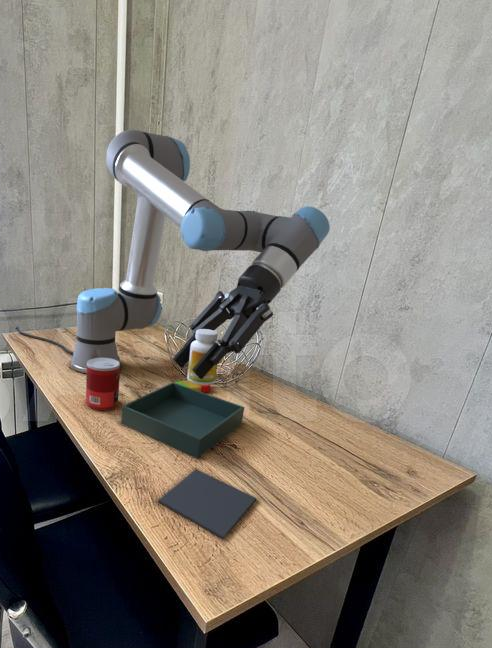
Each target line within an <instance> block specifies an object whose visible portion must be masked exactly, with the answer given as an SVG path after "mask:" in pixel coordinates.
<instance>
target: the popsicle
mask: <svg viewBox="0 0 492 648" xmlns="http://www.w3.org/2000/svg"><path fill="white" fill-rule="evenodd" d="M174 383H177V384H179V385H182V386H185V387H188V388H191V389H194V390H197V391H199V392H202V393H209V392H210V391H211V388H212V387H211V385H198V384H194V383H192V382H190V381H189V380H182V381H174Z"/></svg>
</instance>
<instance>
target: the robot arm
mask: <svg viewBox="0 0 492 648" xmlns="http://www.w3.org/2000/svg"><path fill="white" fill-rule="evenodd" d="M105 156H106V157H105V158H106V159H105V161H106V166H107V168H108V169H107V170H108V171H109V173H110V174H111V175H112V177H113V179H115V180H116V181H117V182H119V184H121V185H122V186H124V187H126V188H132V189H133V190H134V191H135V193H136V195H137V201H136V209H135V215H134V221H133V228H132V236H131V242H130V249H129V256H128V262H127V268H126V269H127V270H126V275H125V279H124V280H123V281H122V282H120V284H119V289H118V290H119V291H117V290H116V289H114V288H111V287H99V288H98V287H97V288H90V289H87V290H84V291H81V292H80V293H79V295H78V296H77V302H76V343H75V346H74V349H73V351H72V350H68V349H67V348H66V347H65V346H64V345H63V344H61V343H58V342H57V341H54V340H52V339H49V338H46V337H42V336H38V335H33V334H30V333H26V332H23V331H21V330H20V327H19V326H16V327H15V330H17V332H18V333H19V334H21V335H23V336H26V337H30V338H34V339H37V340H42V341H45V342H49V343H52V344H54V345H57V346H58V347H60V348H61V349H62V350H63V351H65V352H66V353H68V354H71V357H70V367H71V368H72V369H73V370H74V371H77V372H78V373H81V374H82V373H83V374H87V362H88V361H89V360H90V359H94V358H111V359H114V360H117V361H118V362H119V363H120V364H121V359H120V356H119V353H118V349H117V345H116V332H123V331H132V330H143V329H145V328H150V327H152V326H154V325H155V324H156V323H158V321H159V319H160V317H161V314H162V309H163V304H162V303H161V301H162V300H161V297H160V294H158V288H157V287H156V286H155V280H156V279H155V278H156V273H157V268H158V262H159V256H160V252H161V246H162V239H163V233H164V229H165V223H166V218H168V219H169V220H171V222H173V223H174V224H175V225H176V226H177V227H178V228H180V235H181V238H182V239H183V243H184V244H185V245H186V246H187V247H188V248H189V249H192V250H198V251H201V252H211V251H239V252H240V251H242V252H243V251H246V252H247V251H250V252H256V253H259V254H258V255H257V256H256V257H255V259H254V260H253V261H252V262H251V264H250V265H249V266H248V267H247V268H246V269H245V271H243V273H242V274H241V275H240V276H239V277H238V280H237V285H236V287H235V288H234V289H232V290H231V291H230V292H229V293H224V292H223V291H222V290H219V291H217V292H216V294H215V296H214V297H213V299H212V300H211V301H210V302H209V304H208V305H207V306H206V307H205V308H204V309H203V310H202V311H201V312H200V313H199V315H198V316H197V317H195V319H194V320H193V321H192V322H191V324H189V329H190V330H191V332H192V333H191V335H190V336H189V338H187V339H186V340H185V342H184V343H183V345H182V347H181V349H180V350H179V351H178V352H177V353H176V354H175V355H174V357H172V360H173V361H174V362H175V363H176V364H177V366H178V367H179V368H181V369H183V368H184V367H185V365H187V363H189V356H190V347H191V343H192V342H193V341H195V340H196V338H195V335H196V330H198V329H210V330H214V331H216V330H217V329H218V328H219V327H220V326H222V325H223V324H224V323H225V322H227V321H228V320H229V321H230V323H229V324H228V326H227V328H226V331H225V332H224V334H223V336H222V337H221V339H217V342H216V343H214V345H213V346H212V347H211V348H210V349H209V350H208V352H207V353H206V354H205V355H204V356H203V357H202V359H201V360H200V361H199V362H198V363H197V364H196V365H195V367H194V368H193V369H192V370H193V372H194V373H195V374H196V375H197V376H198V377H199V378H200V379H203V378H204V376H205V375H206V374H207V373H208V372H209V371H210V369H211V368H212V367H213V366H214V365H217V366H218V364H219V363H220V362H221V361H222V360H223V359H224V357H225V356H226V355H227V354H230V353H232V352H233V353H235V354H240V353H241V352H242V350H243V349H244V348H245V347H246V346H247V345H248V343H249V342H250V341H251V339H252V338H253V337H254V336H255V334H256V333H257V332H258V331H259V330H260V328H261V327H262V326H263V324H264V323H265V322H267V321H268V320H269V319H271V318H272V317H273V316H274V312H273V311H272V309H271V307H270V306H269V304H271V303H272V302H273V300H274V299H275V298H276V297H277V296H278V295H279V294H280V292H281V290H282V289H283V288H284V287H285V286H286V284H288V282H289V281H290V280H291V279H292V278H293V277H294V276H295V275H296V273H297V272H298V271H299V269H300V268H301V266H302V265H303V264H304V263H305V262H306V261H307V260H308V259H309V258H310V257H311V256H312V255H313V253H315V251H317V250H318V249H319V248H320V245H321V244H322V242H323V241H324V240H325V238H326V237H327V236H328V234H329V232H330V229H331V225H330V221H329V219H328V216H327V215H326V214H325V213H324V212H323V211H321V210H320V209H318V208H316V207H314V206H308V205H307V206H303V207H301V208H299V209H298V210H297V211H295V212H294V213H293V214H292V216H290V217H288V216H283V215H282V216H281V215H273V214H269V213H264V212H258V211H256V210H233V209H223V208H221V207H219V206H217V205H216V204H215V203H214V202H212V201H211V200H210V199H209V198H207V197H206V196H205V195H203V194H202V193H200V192H199V191H197V189H195V188H193V187H192V186H190V185H189V184H188V183H187V182H186V181H187V180H188V177H189V174H190V171H191V158H190V153H189V151H188V150H187V146H186V144H185V143H184V142H183V141H182V140H179V139H178V138H174V137H172V136H168V135H163V134H157V133H151V132H147V131H141V130H139V129H127V130H124V131H121V132H119V133H118V134H117V135H115V136H114V137H113V138H112V140H111V141H110V142H109V144H108V146H107V149H106V154H105Z"/></svg>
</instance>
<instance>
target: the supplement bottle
mask: <svg viewBox="0 0 492 648" xmlns="http://www.w3.org/2000/svg"><path fill="white" fill-rule="evenodd" d="M218 334H219V333H218V331H216V330H210V329H198V330H196V335H195V338H196V340H195V341H193V342H192V343H191V347H190V356H189V361H188V366H187V374H186V379H187V381H190V382H192V383H194V384H198V385H210V386H211V385H213V384H215V382H216V378H217V371H218V364H217V365H214V366H213V367H212V368H211V369H210V371H209V372H208V373H207V374H206V375H205V376H204V378H203V379H200V378H199V377H198V376H197V375H196V374H195V373H194V372H193V370H192V369H193V368H194V367H195V365H196V364H197V363H198V362H199V361H200V360H201V359H202V357H203V356H204V355H205V354H206V353H207V352H208V350H209V349H210V348H211V347H212V346H213V345H214V343H217V342H218V337H219V335H218Z"/></svg>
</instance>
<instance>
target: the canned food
mask: <svg viewBox="0 0 492 648" xmlns="http://www.w3.org/2000/svg"><path fill="white" fill-rule="evenodd" d="M120 375H121V362H120V363H119V362H118V361H117V360H114V359H111V358H94V359H90V360H89V361H88V362H87V373H86V379H85V380H86V381H85V383H86V385H85V386H86V387H85V402H86V405H87V407H89V408H90V409H93V410H96V411H109V410H113V409H115V408H116V407H117V406H118V403H119V393H120Z"/></svg>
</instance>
